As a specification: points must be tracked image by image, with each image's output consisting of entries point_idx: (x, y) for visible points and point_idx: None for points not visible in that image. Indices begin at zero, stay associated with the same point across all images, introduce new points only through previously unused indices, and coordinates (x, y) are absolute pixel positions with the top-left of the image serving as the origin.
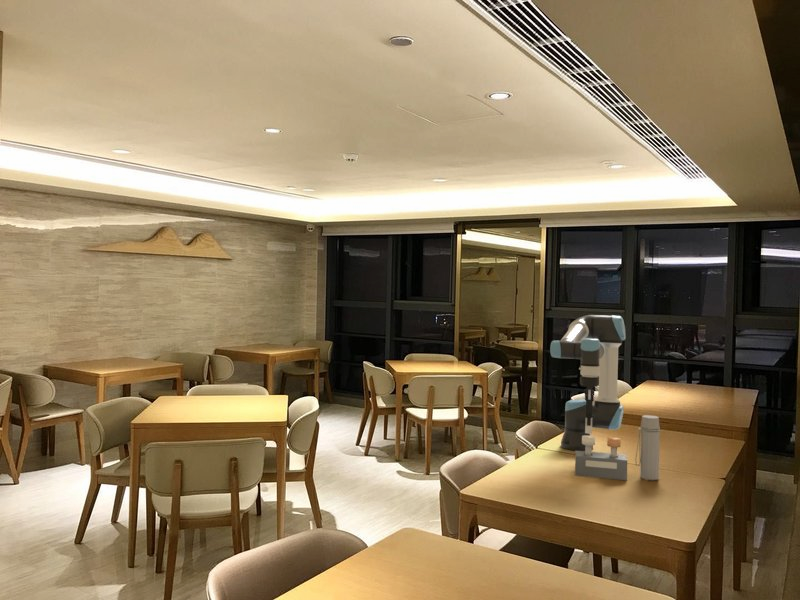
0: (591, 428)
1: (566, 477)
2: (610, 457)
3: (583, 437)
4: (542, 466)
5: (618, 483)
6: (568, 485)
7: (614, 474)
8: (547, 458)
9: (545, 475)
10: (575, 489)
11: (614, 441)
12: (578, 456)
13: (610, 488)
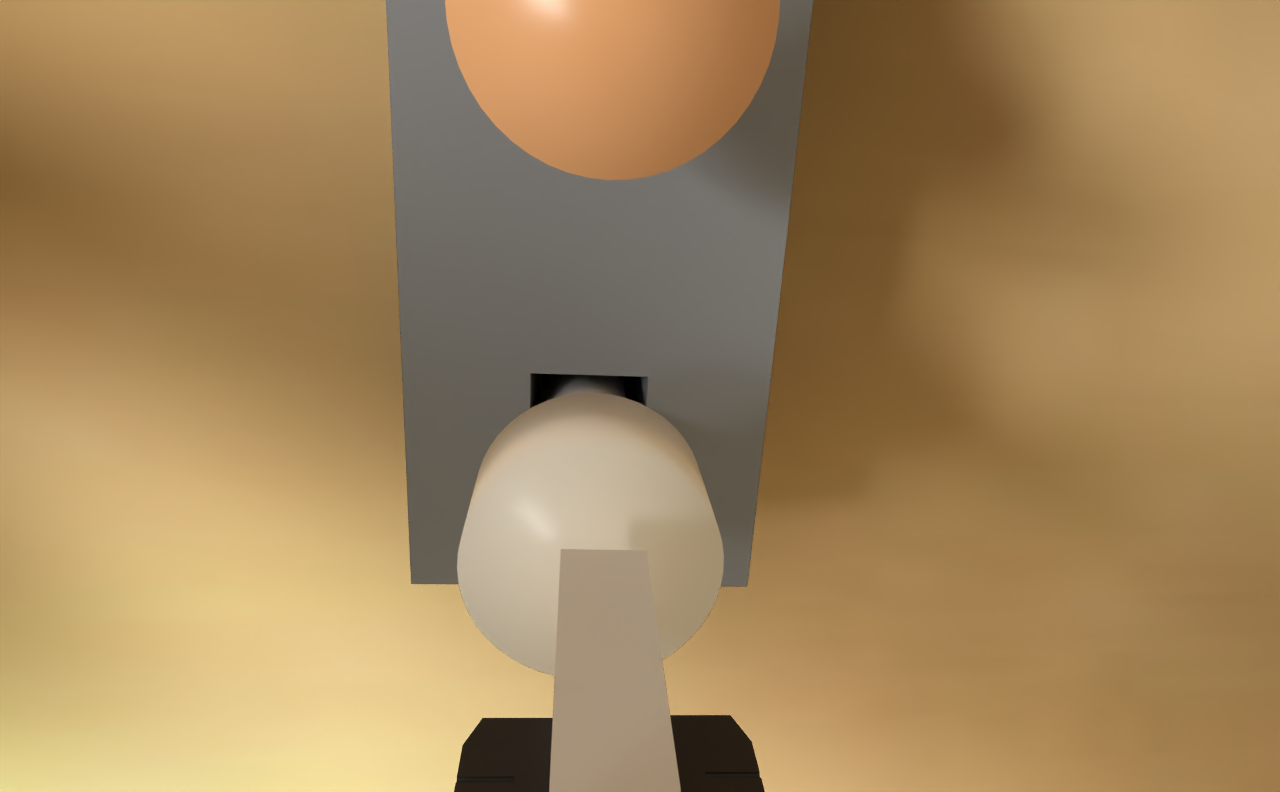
0: (657, 637)
1: (789, 549)
2: None
3: (665, 651)
4: (449, 753)
5: (909, 27)
6: (1055, 530)
7: None
8: (86, 732)
9: (765, 713)
10: (1173, 474)
11: (769, 17)
12: (749, 552)
13: (1114, 142)
